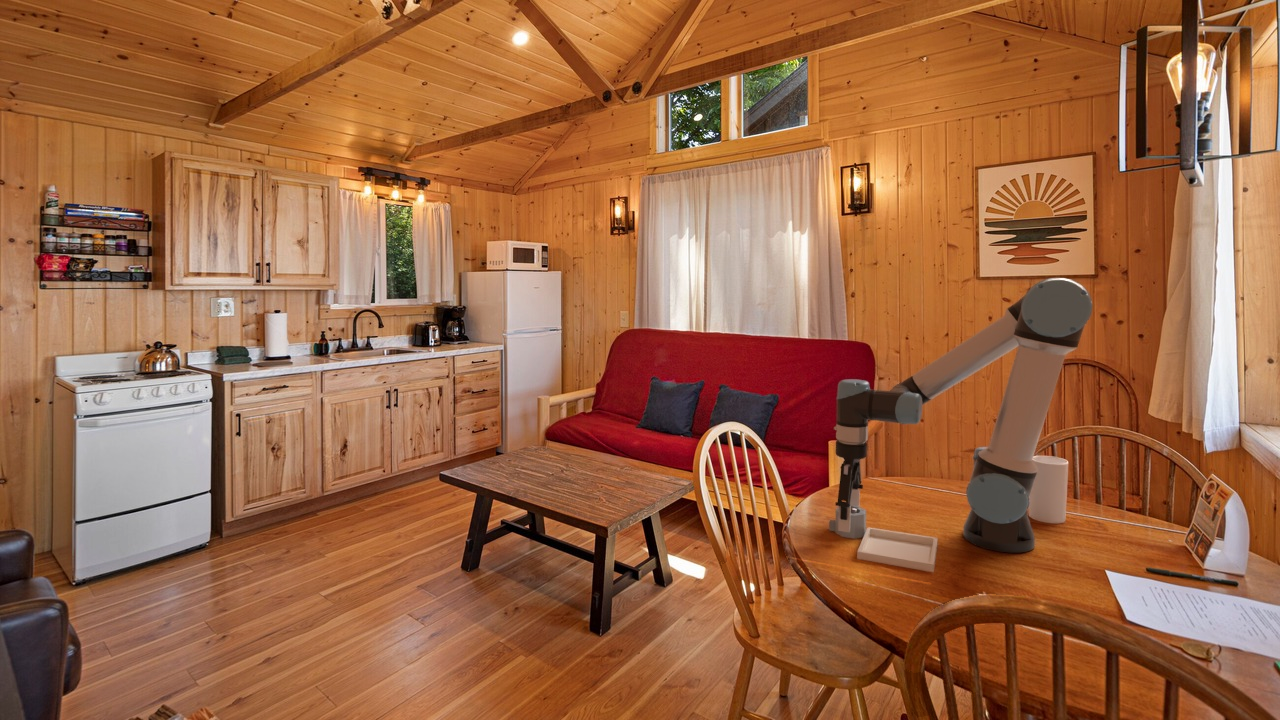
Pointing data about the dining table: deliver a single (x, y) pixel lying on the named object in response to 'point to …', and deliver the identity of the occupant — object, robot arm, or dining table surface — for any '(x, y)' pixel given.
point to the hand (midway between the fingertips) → (848, 521)
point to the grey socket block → (851, 524)
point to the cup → (1049, 490)
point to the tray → (898, 549)
